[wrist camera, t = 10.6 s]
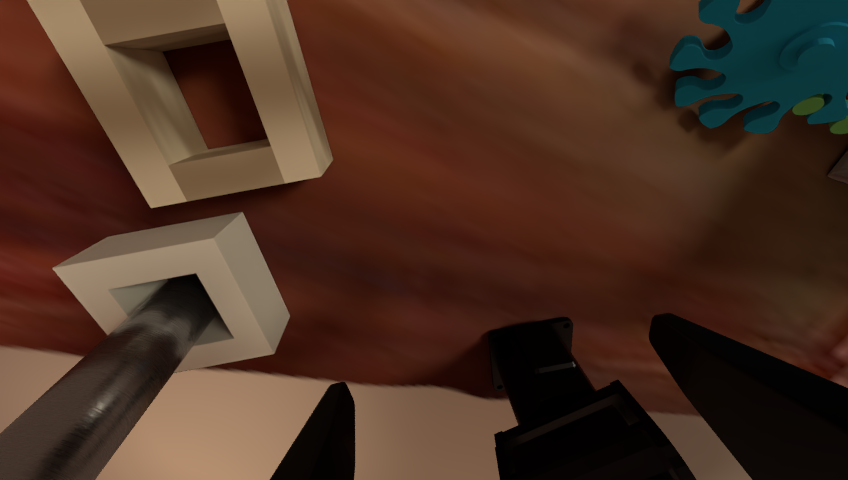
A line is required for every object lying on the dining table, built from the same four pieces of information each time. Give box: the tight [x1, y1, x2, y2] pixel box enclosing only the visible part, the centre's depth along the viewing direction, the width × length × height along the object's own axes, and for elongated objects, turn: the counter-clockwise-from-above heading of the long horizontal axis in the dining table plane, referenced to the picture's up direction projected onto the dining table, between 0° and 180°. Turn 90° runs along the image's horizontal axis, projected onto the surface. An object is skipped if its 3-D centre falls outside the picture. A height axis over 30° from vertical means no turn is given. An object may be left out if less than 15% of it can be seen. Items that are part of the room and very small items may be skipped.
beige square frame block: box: [27, 0, 333, 208], centre depth 15 cm, size 8×8×4 cm
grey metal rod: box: [0, 273, 218, 480], centre depth 15 cm, size 3×3×12 cm
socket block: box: [52, 212, 290, 373], centre depth 19 cm, size 8×8×4 cm
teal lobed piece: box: [669, 0, 848, 134], centre depth 15 cm, size 11×6×10 cm
